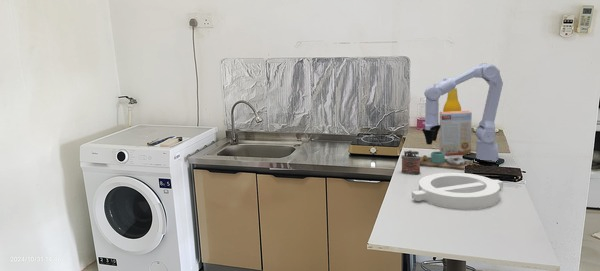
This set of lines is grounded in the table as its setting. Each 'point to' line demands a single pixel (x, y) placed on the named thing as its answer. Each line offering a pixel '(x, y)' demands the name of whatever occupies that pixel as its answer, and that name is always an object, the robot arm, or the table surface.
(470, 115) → the cracker box
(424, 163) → the board
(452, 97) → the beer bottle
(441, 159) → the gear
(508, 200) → the table surface
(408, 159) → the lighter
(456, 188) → the ring with crossbar
